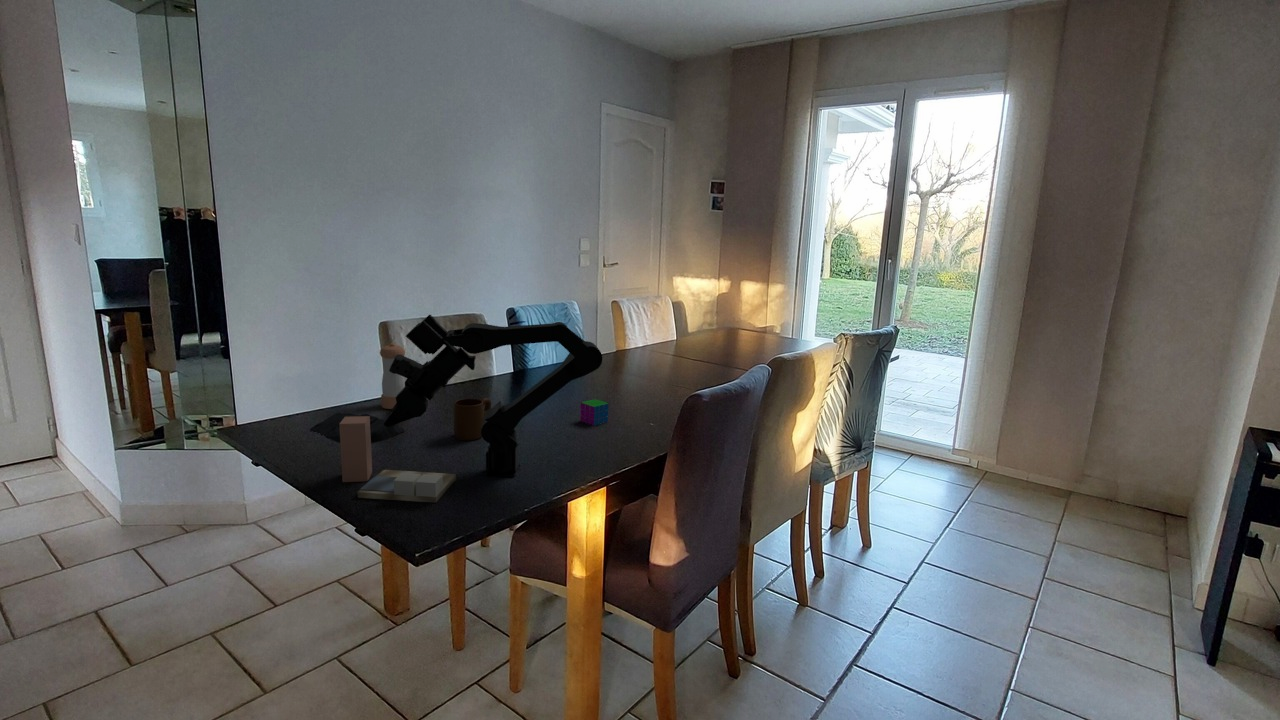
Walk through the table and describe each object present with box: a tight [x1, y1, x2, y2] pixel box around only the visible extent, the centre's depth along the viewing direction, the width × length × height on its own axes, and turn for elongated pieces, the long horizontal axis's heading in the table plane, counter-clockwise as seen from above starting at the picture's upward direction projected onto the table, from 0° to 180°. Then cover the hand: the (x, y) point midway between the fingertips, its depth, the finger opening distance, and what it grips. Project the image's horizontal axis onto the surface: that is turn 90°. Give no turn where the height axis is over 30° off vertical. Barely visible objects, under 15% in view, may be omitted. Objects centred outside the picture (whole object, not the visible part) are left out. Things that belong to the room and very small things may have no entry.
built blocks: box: [394, 473, 443, 497], centre depth 127 cm, size 8×4×3 cm, turn 87°
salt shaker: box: [379, 342, 406, 410], centre depth 186 cm, size 7×7×19 cm
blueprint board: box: [357, 469, 457, 503], centre depth 132 cm, size 16×12×1 cm
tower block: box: [339, 415, 373, 483], centre depth 135 cm, size 5×5×13 cm
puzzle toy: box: [579, 398, 610, 426], centre depth 182 cm, size 6×6×6 cm
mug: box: [453, 397, 492, 441], centre depth 166 cm, size 12×8×9 cm, turn 152°
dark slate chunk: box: [309, 412, 405, 444], centre depth 164 cm, size 15×22×5 cm
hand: (389, 418), depth 135 cm, fingers open, 9 cm apart
